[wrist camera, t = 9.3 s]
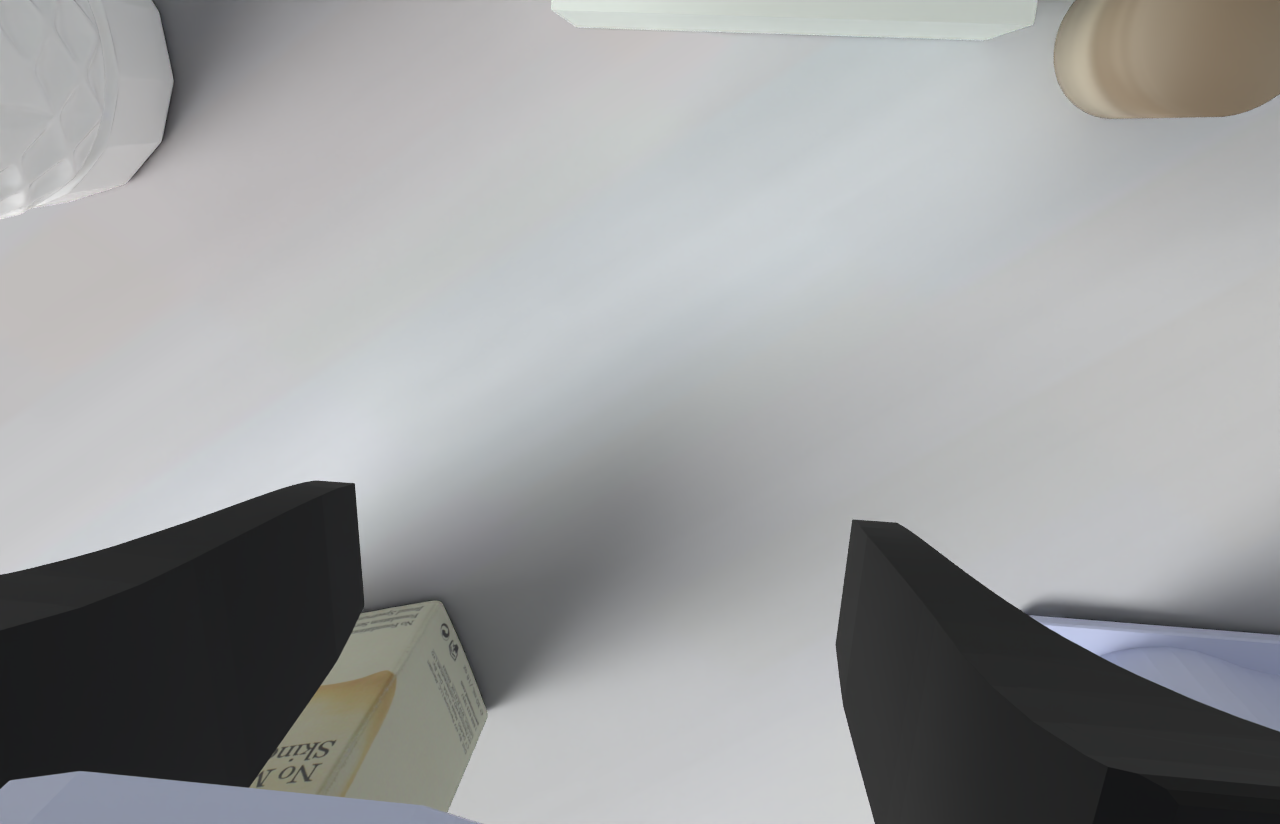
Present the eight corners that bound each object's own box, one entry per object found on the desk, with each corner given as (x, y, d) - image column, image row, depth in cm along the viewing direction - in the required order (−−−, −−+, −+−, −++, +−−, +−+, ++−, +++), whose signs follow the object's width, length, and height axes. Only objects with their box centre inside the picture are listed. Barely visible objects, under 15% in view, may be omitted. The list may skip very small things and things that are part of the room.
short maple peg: (1217, -31, 17) (1354, -74, 14) (1181, 121, 18) (1300, 120, 15) (1069, -35, 18) (1164, -78, 14) (1041, 116, 19) (1123, 113, 15)
